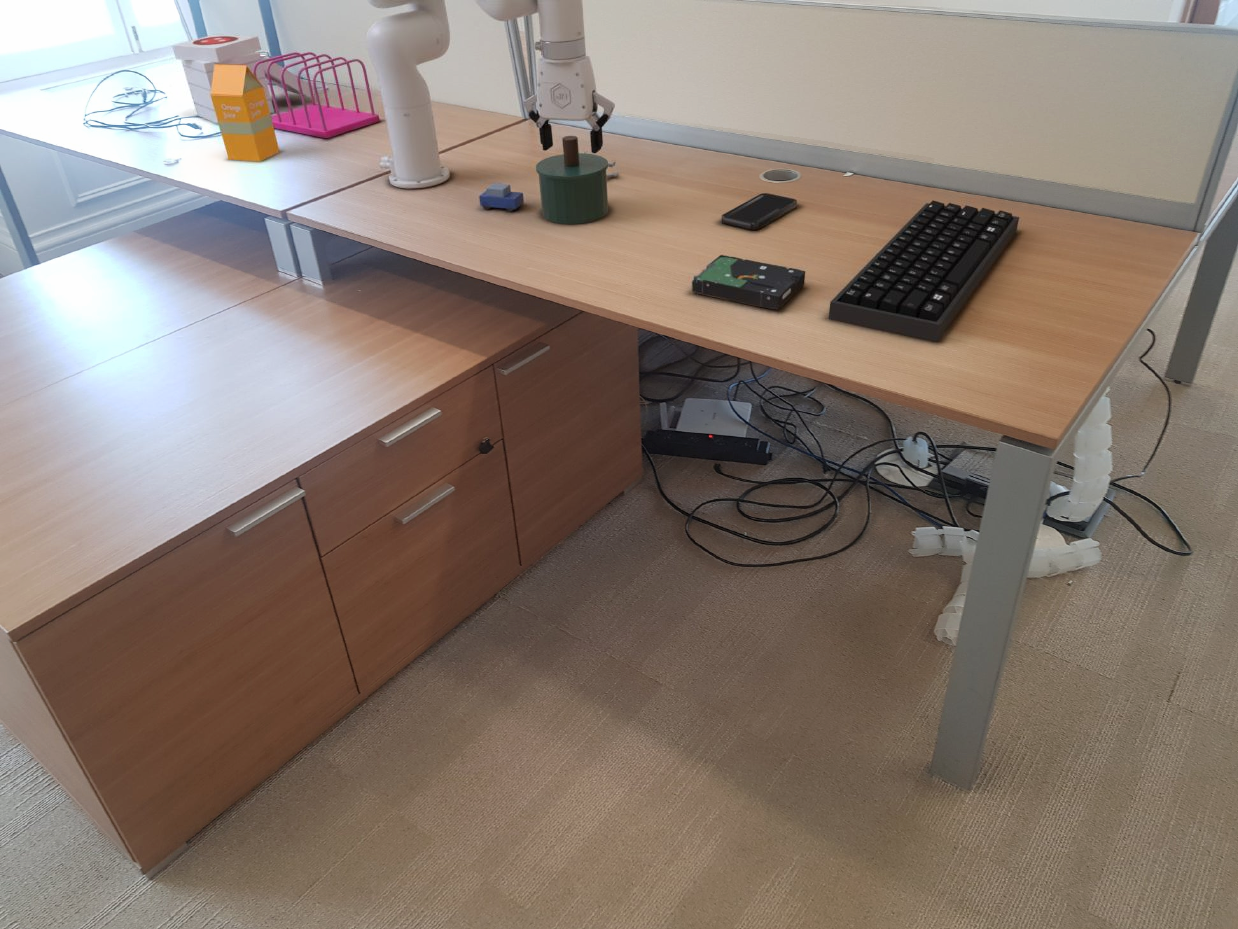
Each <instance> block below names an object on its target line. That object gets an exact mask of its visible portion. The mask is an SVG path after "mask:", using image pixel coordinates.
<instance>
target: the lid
mask: <svg viewBox="0 0 1238 929" xmlns="http://www.w3.org/2000/svg"><path fill="white" fill-rule="evenodd" d="M561 140H562V153H563V154H557V155H553V156H549V157H546V158H544V159H543V158H542V160H540V161H538V162H537V163H536V165H535V171H536V173H537V174H538V176H539V175H541V176H544V177H547V178H552V179H580V178H586V177H591V176H594V175H597V174H600V173H602V172H604V171H605V170H606V171H607V169H608V168H609V166H608V163H609V160H608V159H607V158H605V157H604V156H602V155H598V154H595V153H587V152H586V153H583V152H580V151H579V138H578V136H577V135H566V136H563V137H562V138H561Z"/></svg>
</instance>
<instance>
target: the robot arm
mask: <svg viewBox="0 0 1238 929" xmlns="http://www.w3.org/2000/svg"><path fill="white" fill-rule="evenodd" d="M367 2H368V3H369V4H370V5H371V6H373V7H374V8H377V9H391V8H397V7H401V6H405V5H407V8H408V11H405V12H399V13H395V14H392V15H388V16H385V17H381V18H379V19H378V20H376V21H374V22H373V23H372V24H371V26H370V27H369V28H368V30H367V34H366V39H365V40H366V42H365V43H366V48H367V53H368V55H369V58H370V60H371V63H372V66H373V68H374V71H375V74H376V78H377V83H378V86H379V90H380V96H381V100H382V106H383V112H384V116H385V121H386V127H387V132H388V138H389V143H390V149H391V155H392V156H388V155H382V156H381V157H380V162H379V167H380V169H384V170H385V169H386V170H387V169H389V170H390V174H389V176H388V180H389V183H390V185H392V186H394V187H396V188H401V189H424V188H429V187H430V188H431V187H433V186H437V185H440V184H442V183H444V182H446V181H447V180H449V179H450V176H451V174H450V170H449V168H448V167H445V166H443V165H442V164H441V158H440V151H439V144H438V138H437V133H436V132H437V131H436V126H435V120H434V114H433V112H434V111H433V107H432V106H433V105H432V100H431V94H430V89H429V86H428V84H427V82H426V80H425V78H424V77H423V75H422V74H421V73H420V71H419V69H418V66H419V65H421V64H424V63H428V62H430V61H431V62H432V61H434V60H437V59H440V58H441V57H442V56H444V55H445V54H446V53H447V51H448V50H449V47H450V43H451V31H450V24H449V19H448V12H447V7H446V1H445V0H367ZM474 2H475V3H476V4H477V6H479V7H480V9H481V10H482V11H483V12H485V14H486V15H487V16H488V17H490V18H492V19H493V20H496V21H499V22H509V21H512V20H516V19H518V18H523V17H527V16H531V15H535V14H538V21H539V33H540V39H539V41H535V42H534V49H535V51H539V52H540V54H541V57H540V58H538V60H537V69H536V93H535V94H533V95H532V96H530V97H528V98H527V99H525V100H524V101H523V102H522V105H523V106H524V108H525V111H526V112H527V113H528V116H529V118H530V119H531V120H532V122H533V123H534V124H535V126H536V128H537V129H538V130H539V140H540V145H542V151H544V152H546V151H548V150H550V149H551V148H552V147H554V139H553V130H552V129H553V127H552V124H551V123H549V122H550V121H551V120H552V121H571V122H583V121H586V123H587V124H588V125H589V126H590V127H591V130H590V132H589V137H590V149H591V150H590V151H591V152H590V153H591V154H597V153H598V152H600V150H602V148H603V145H604V138H603V127H604V126H605V125H606V123H608V121H609V120H610V119H611V117H612V113H613V111H614V109H615V106H616V105H615V103H614V102H613V101H611V100H610V99H608V98H606V97H605V96H603V95H602V94H599V93H598V92H597V85H596V79H595V74H594V69H593V64H592V61H591V57H590V56H589V55H587V50H586V37H585V35H586V34H585V20H584V11H583V10H584V8H583V6H584V5H583V0H474ZM535 104H536V105H537V109H536V106H535ZM599 106H600V107H601V108H603V113H602V115H601V116H600V114H598V113H597V112H598V108H599Z"/></svg>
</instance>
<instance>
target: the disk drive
mask: <svg viewBox="0 0 1238 929" xmlns="http://www.w3.org/2000/svg"><path fill="white" fill-rule="evenodd" d="M705 267H706V268H703V269H702V270H700V272H699V273H697V274H696V275H694V276H693V279H692V281H691V292H695V293H696V294H700V295H704V296H709V297H713V298H718V299H722V300H726V301H730V302H731V301H732V302H737V303H741V304H746V305H750V306H754V307H755V306H756V307H760V308H764V309H769V310H770V309H772V310H778V311H779V310H780V309H781V308H782V307H783V306H785V304H786V303H787V302H788V301H790V300H791V298H792V297H794V296H795V295H796V294H797V293H798V292H799V291H800V290H801V289H802V287H803V286H804V285H805V282H806V281H805V280H806V271H805V270H801V269H799V268H793V267H787V266H783V265H778V264H771V263H766V262H762V261H755V260H751V259H744V258H740V257H736V256H730V255H725V254H720V255H718V256H717V257H716V258H715V259H713V260H712V261H710V262H709V263H708V264H707V265H706V266H705Z"/></svg>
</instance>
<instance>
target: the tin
mask: <svg viewBox="0 0 1238 929" xmlns="http://www.w3.org/2000/svg"><path fill="white" fill-rule="evenodd" d="M606 174H607V169H606V170H605V171H604V172H602V173H600V174H597V175H594V176H591V177H586V178H580V179H552V178H547V177H544V176H541V175H539V174H538V180H539V181H538V182H539V193H540V201H541V202H540V203H541V212H542V216H543V218H544V219H545V220H546V221H548V222H551V223H555V224H560V225H581V224H588V223H591V222H595V221H597V220H600V219H602V218H604V217H605V216H606V215H607V214H608V212H609V198H608V197H609V196H608V181H607V179H608V178H607V177H606Z"/></svg>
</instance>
